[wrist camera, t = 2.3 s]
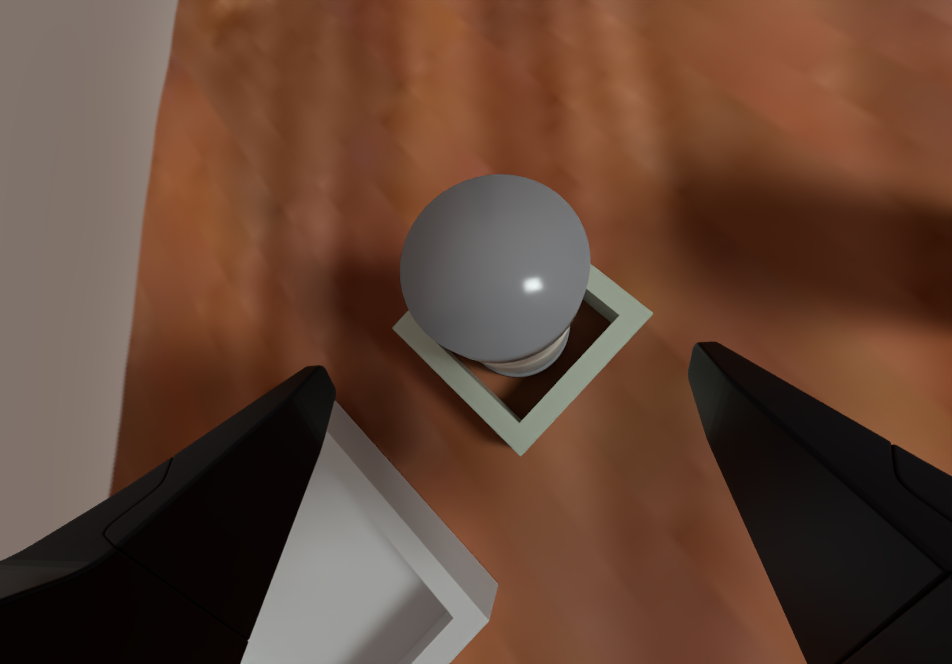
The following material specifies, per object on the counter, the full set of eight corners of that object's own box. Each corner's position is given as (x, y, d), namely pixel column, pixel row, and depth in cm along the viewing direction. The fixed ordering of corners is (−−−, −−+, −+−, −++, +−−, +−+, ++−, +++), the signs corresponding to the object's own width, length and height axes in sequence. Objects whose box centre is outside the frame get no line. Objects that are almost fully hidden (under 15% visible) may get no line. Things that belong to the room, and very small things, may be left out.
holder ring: (642, 321, 19) (653, 313, 17) (523, 450, 19) (520, 456, 17) (513, 218, 21) (510, 200, 19) (406, 334, 21) (392, 328, 19)
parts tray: (498, 584, 18) (489, 621, 15) (308, 788, 18) (262, 865, 15) (325, 389, 21) (290, 388, 18) (164, 564, 21) (103, 590, 18)
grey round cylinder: (589, 324, 19) (634, 251, 9) (521, 398, 19) (495, 400, 9) (515, 262, 20) (487, 140, 11) (451, 332, 20) (364, 273, 11)
